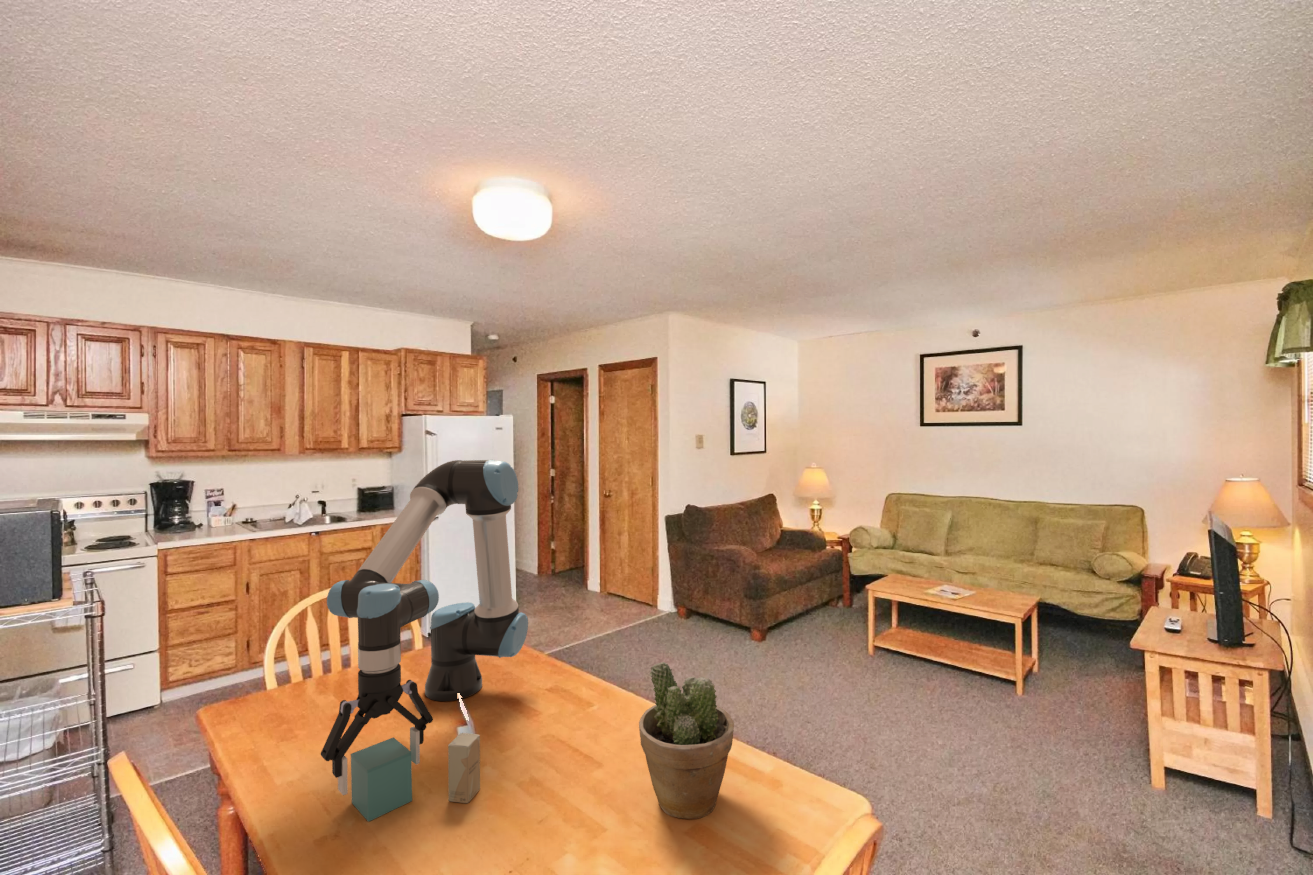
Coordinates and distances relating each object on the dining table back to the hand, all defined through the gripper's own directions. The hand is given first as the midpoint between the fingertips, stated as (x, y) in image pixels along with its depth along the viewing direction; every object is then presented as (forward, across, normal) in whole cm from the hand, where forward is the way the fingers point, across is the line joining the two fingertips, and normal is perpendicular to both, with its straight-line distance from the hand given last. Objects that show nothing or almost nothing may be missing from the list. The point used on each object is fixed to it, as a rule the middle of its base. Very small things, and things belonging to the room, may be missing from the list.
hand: (380, 775), depth 113 cm
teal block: (+5, 0, 0) cm, 5 cm away
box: (+5, -12, +10) cm, 17 cm away
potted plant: (+5, -40, +44) cm, 60 cm away
